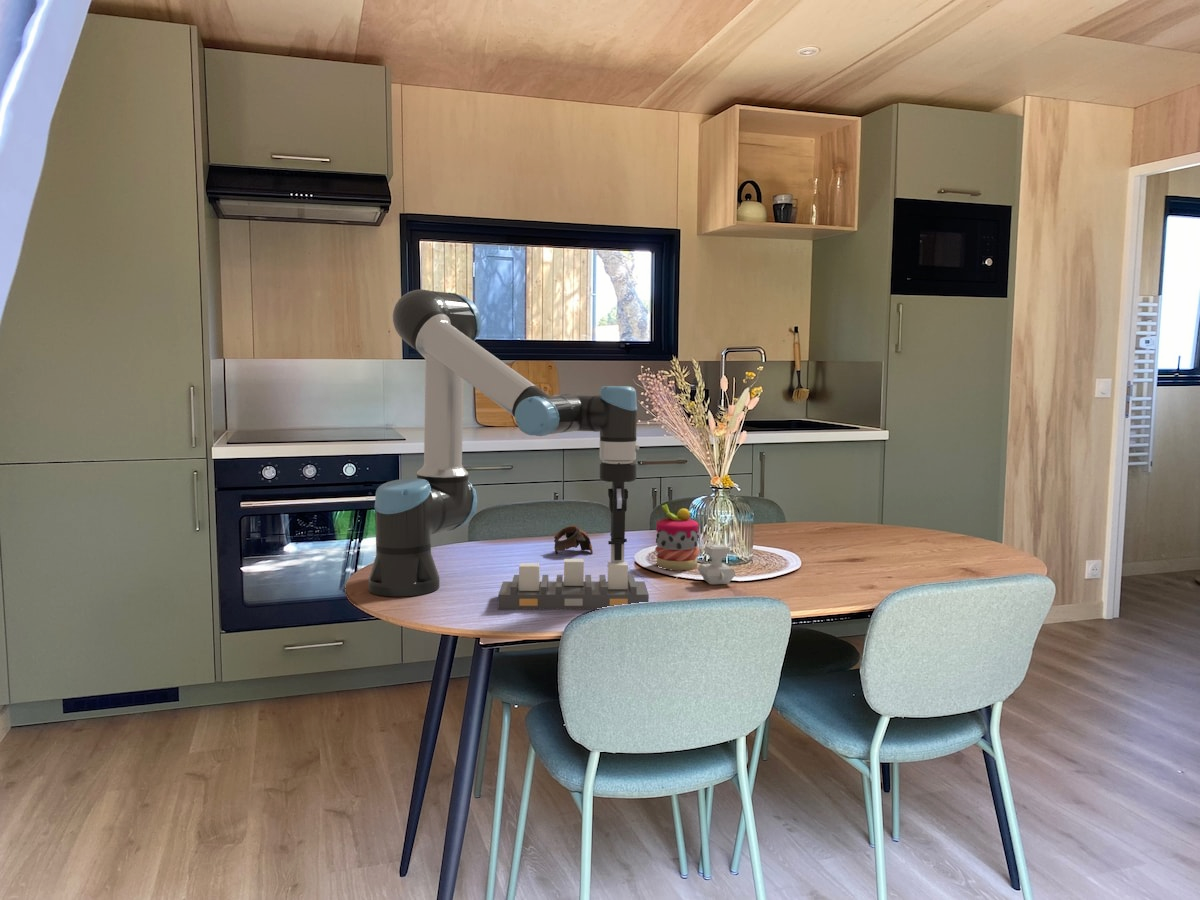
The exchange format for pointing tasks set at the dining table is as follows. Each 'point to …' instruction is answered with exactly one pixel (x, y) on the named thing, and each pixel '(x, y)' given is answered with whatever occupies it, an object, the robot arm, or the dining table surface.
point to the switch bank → (570, 594)
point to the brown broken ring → (572, 539)
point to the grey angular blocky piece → (716, 566)
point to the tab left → (529, 576)
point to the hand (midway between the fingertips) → (617, 574)
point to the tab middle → (573, 572)
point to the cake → (677, 541)
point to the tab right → (617, 575)
